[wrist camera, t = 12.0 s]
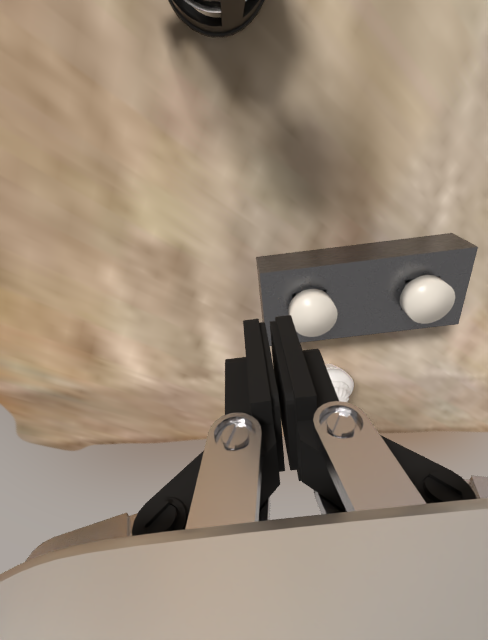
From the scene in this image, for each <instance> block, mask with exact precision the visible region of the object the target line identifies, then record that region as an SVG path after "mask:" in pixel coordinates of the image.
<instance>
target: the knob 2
mask: <svg viewBox="0 0 488 640" xmlns="http://www.w3.org/2000/svg"><path fill="white" fill-rule="evenodd" d="M454 302H455V292H454V290H453V288H452V287H451V286H450V285H448V284H447V283H446V282H444V281H443V280H442V279H440V278H439V277H437V276H435V275H423V276H420V277H417V278H415V279H410V280H405V286H404V289H403V291H402V293H401V295H400V306H401V308H402V309H403V310H404V311H405V313H406V314H407V315H408V316H409V317H410V318H411V319H412V320H413V321H415V322H417V323H421V324H427V323H432V322H435V321H437V320H439V319H441V318H442V317H444V316H445V315H446V314H447V313H448V312H449V311H450V310H451V308H452V307H453V304H454Z"/></svg>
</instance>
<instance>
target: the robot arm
mask: <svg viewBox="0 0 488 640" xmlns="http://www.w3.org/2000/svg"><path fill="white" fill-rule="evenodd" d="M243 324H244V337H245V349H246V357H243V358H234V359H226V360H225V415H224V416H222V417H220V418H219V419H217V420H216V421H215V422H214V423H213V425H212V426H211V428H210V430H209V432H208V436H207V440H206V445H205V449H204V451H203V452H202V453H201V454H200V455H199V456H197V457H196V458H195V459H194V460H193V461H192V462H191V463H190V464H189V465H187V466H186V467H185V468H184V469H183V470H182V471H181V472H180V473H179V474H178V475H177V476H175V477H174V478H173V479H172V480H171V481H170V482H169V483H168V484H167V485H165V486H164V487H163V488H162V489H161V490H160V491H159V492H158V493H157V494H156V495H155V496H153V497H152V498H151V499H150V500H149V501H148V502H147V503H146V504H145V505H144V506H143V507H142V508H141V510H140V511H139V512H138V513H137V514H134V515H131V516H129V515H128V514H127V513H124V514H121V515H118V516H115V517H112V518H110V519H106V520H104V521H101V522H97V523H94V524H92V525H89V526H86V527H83V528H80V529H77V530H74V531H71V532H68V533H65V534H62V535H59V536H56V537H53V538H51V539H49V540H47V541H45V542H43V543H42V544H41V545H39V546H38V547H37V548H36V549H35V550H34V551H32V553H31V554H30V555H29V557H28V558H27V560H26V561H25V562H24V563H22V564H20V565H17V566H15V567H14V568H12V569H10V570H8V571H6V572H4V573H2V574H0V640H488V477H482V476H471V478H470V480H469V479H462V477H460V476H459V475H457V474H456V473H454V472H453V471H451V470H449V469H447V468H445V467H443V466H441V465H439V464H437V463H435V462H433V461H431V460H429V459H427V458H425V457H423V456H421V455H419V454H417V453H415V452H413V451H411V450H409V449H407V448H405V447H403V446H401V445H399V444H397V443H395V442H393V441H391V440H389V439H387V438H385V437H383V436H381V435H380V434H379V433H378V431H377V430H376V428H375V427H374V425H373V424H372V422H371V421H370V420H369V418H368V417H367V415H366V414H365V413H364V412H363V411H362V410H361V409H360V408H358V407H357V406H355V405H353V404H350V403H347V402H341V401H339V399H338V396H337V394H336V391H335V389H334V386H333V384H332V381H331V379H330V376H329V373H328V371H327V368H326V366H325V363H324V361H323V358H322V356H321V353H320V351H319V349H311V350H303V351H302V348H301V345H300V342H299V339H298V336H297V332H296V329H295V326H294V323H293V320H292V317H291V315H286V316H278V317H275V321H270V332H271V344H272V356H273V363H272V358H271V352H270V347H269V341H268V336H267V330H266V325H265V322H262V323H259V319H253V320H244V321H243ZM273 367H274V368H273ZM281 421H282V427H283V432H284V438H285V443H286V449H287V454H288V460H289V465H290V470H297V472H298V478H299V481H302V482H303V483H305V484H306V485H308V486H309V487H311V488H312V489H313V490H314V494H315V498H316V501H317V504H318V506H319V508H320V511H321V514H322V515H314V516H304V517H295V518H286V519H276V520H270V495H271V494H272V493H273V492H274V491H275V490H276V488H277V487H278V486H279V485H280V478H279V472H280V471H285V466H284V453H283V441H282V428H281Z"/></svg>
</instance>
